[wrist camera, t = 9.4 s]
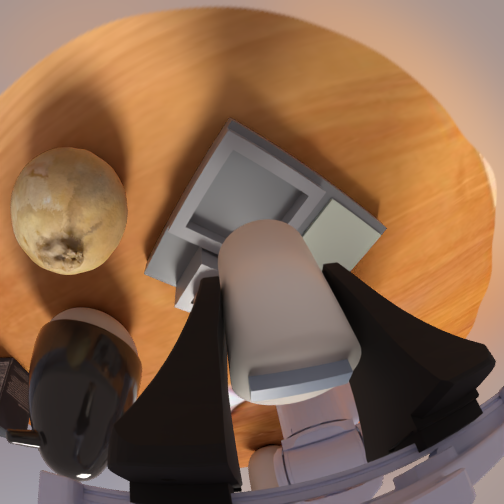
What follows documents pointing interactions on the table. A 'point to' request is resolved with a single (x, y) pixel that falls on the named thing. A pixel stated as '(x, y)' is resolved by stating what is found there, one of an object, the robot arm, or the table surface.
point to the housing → (255, 211)
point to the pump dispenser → (79, 390)
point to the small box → (13, 396)
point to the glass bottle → (263, 468)
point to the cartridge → (281, 317)
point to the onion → (68, 210)
